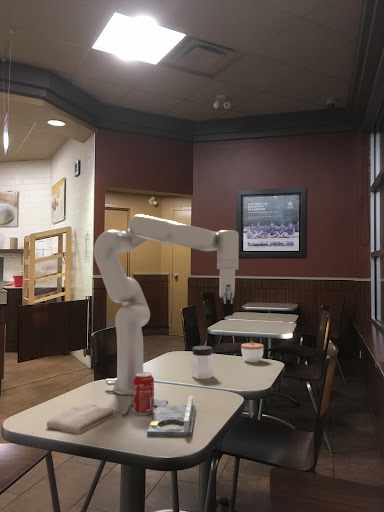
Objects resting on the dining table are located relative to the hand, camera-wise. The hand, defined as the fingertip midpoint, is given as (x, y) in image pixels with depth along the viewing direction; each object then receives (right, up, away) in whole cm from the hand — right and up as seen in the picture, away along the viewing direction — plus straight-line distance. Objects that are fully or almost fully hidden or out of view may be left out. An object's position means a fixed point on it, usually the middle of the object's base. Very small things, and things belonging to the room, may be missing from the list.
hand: (227, 313), depth 155 cm
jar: (-8, -30, +27) cm, 41 cm away
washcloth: (-45, -29, -24) cm, 59 cm away
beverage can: (-28, -29, -17) cm, 44 cm away
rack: (-18, -29, -25) cm, 42 cm away
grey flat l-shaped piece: (-27, -29, -13) cm, 42 cm away
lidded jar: (+17, -30, +56) cm, 65 cm away
